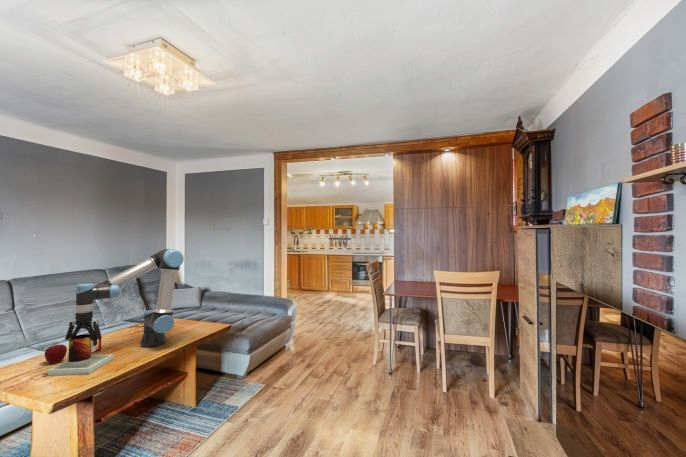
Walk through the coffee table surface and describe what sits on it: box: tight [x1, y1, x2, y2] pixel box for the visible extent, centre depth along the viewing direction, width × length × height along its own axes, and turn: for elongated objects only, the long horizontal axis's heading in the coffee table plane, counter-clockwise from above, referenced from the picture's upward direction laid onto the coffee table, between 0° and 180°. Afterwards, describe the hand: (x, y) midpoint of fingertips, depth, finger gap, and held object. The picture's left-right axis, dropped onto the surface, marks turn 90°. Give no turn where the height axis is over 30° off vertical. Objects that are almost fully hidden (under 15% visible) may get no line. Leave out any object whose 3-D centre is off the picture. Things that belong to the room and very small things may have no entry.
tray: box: [47, 354, 115, 377], centre depth 171 cm, size 20×20×3 cm
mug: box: [67, 333, 102, 362], centre depth 172 cm, size 10×14×12 cm
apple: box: [44, 344, 68, 364], centre depth 178 cm, size 10×10×10 cm
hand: (83, 351), depth 171 cm, fingers closed on mug, 10 cm apart
